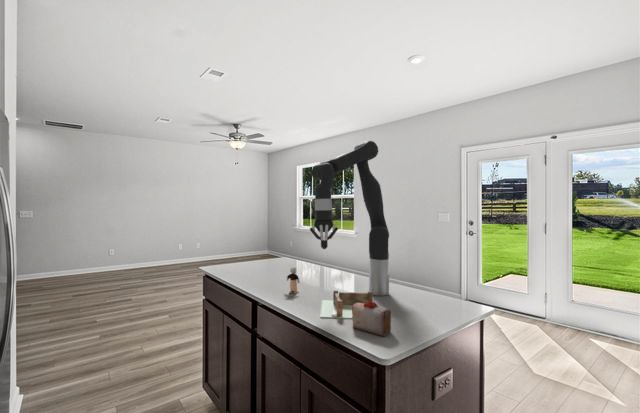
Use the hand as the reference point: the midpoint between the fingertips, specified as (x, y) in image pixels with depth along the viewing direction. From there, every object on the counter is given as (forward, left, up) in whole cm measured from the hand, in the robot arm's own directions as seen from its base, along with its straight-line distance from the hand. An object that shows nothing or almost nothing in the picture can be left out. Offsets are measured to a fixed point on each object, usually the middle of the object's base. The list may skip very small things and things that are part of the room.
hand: (324, 248), depth 139 cm
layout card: (-11, +7, -24) cm, 27 cm away
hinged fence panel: (-6, +9, -23) cm, 26 cm away
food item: (-18, +27, -24) cm, 41 cm away
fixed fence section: (-14, +3, -24) cm, 28 cm away
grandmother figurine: (+16, -16, -24) cm, 33 cm away
